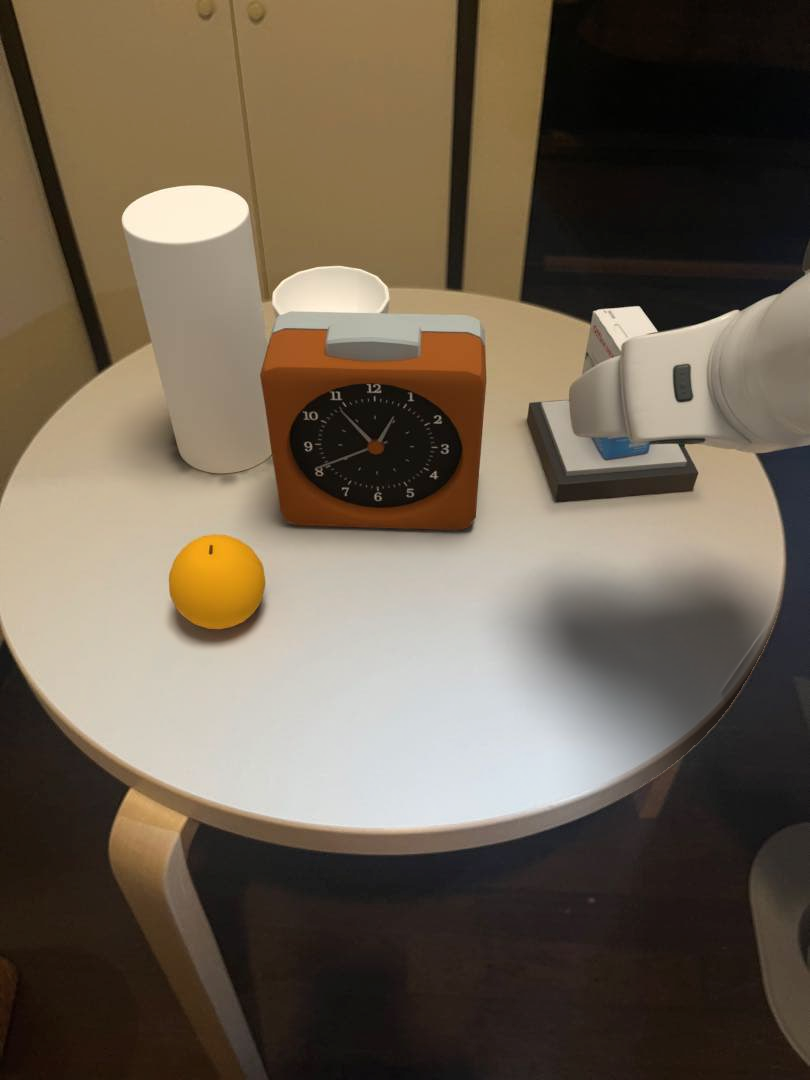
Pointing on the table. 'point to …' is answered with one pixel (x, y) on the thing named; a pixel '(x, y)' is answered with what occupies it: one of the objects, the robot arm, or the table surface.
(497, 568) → the table surface
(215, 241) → the tall pillar cylinder
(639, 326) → the ink box
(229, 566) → the orange fruit with stem
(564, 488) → the scale
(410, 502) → the alarm clock
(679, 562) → the table surface
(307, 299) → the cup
